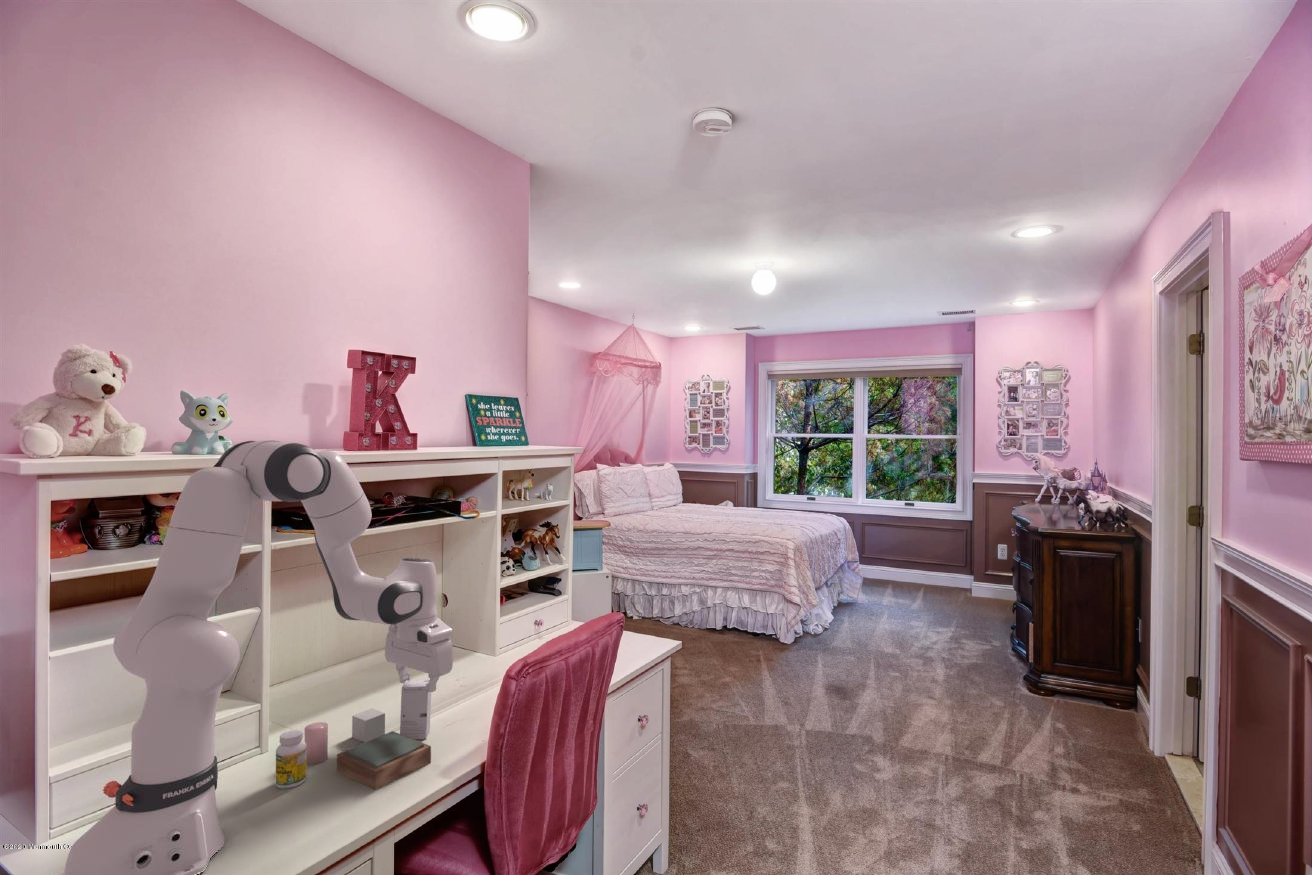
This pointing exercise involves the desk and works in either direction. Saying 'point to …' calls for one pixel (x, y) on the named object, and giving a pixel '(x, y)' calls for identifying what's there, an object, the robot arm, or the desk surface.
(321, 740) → the pink pillar
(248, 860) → the desk surface
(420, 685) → the skincare box
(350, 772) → the tray
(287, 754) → the supplement bottle
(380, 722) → the light gray block
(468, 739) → the desk surface
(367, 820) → the desk surface
